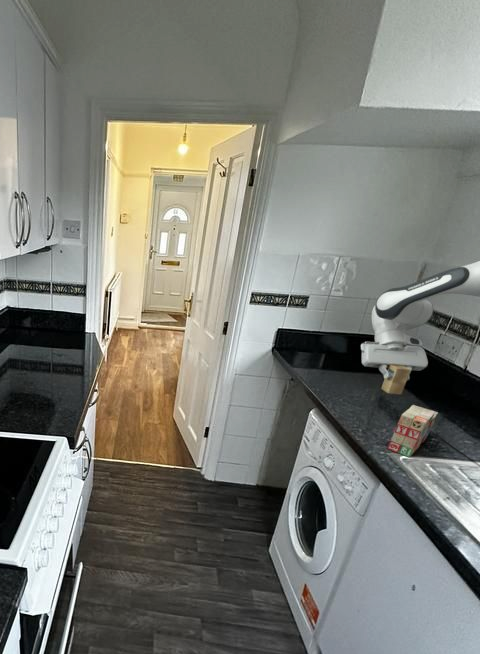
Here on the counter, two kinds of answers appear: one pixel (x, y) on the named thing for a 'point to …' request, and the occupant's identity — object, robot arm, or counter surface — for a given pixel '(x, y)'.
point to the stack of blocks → (412, 430)
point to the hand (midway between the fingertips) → (397, 379)
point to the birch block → (396, 379)
